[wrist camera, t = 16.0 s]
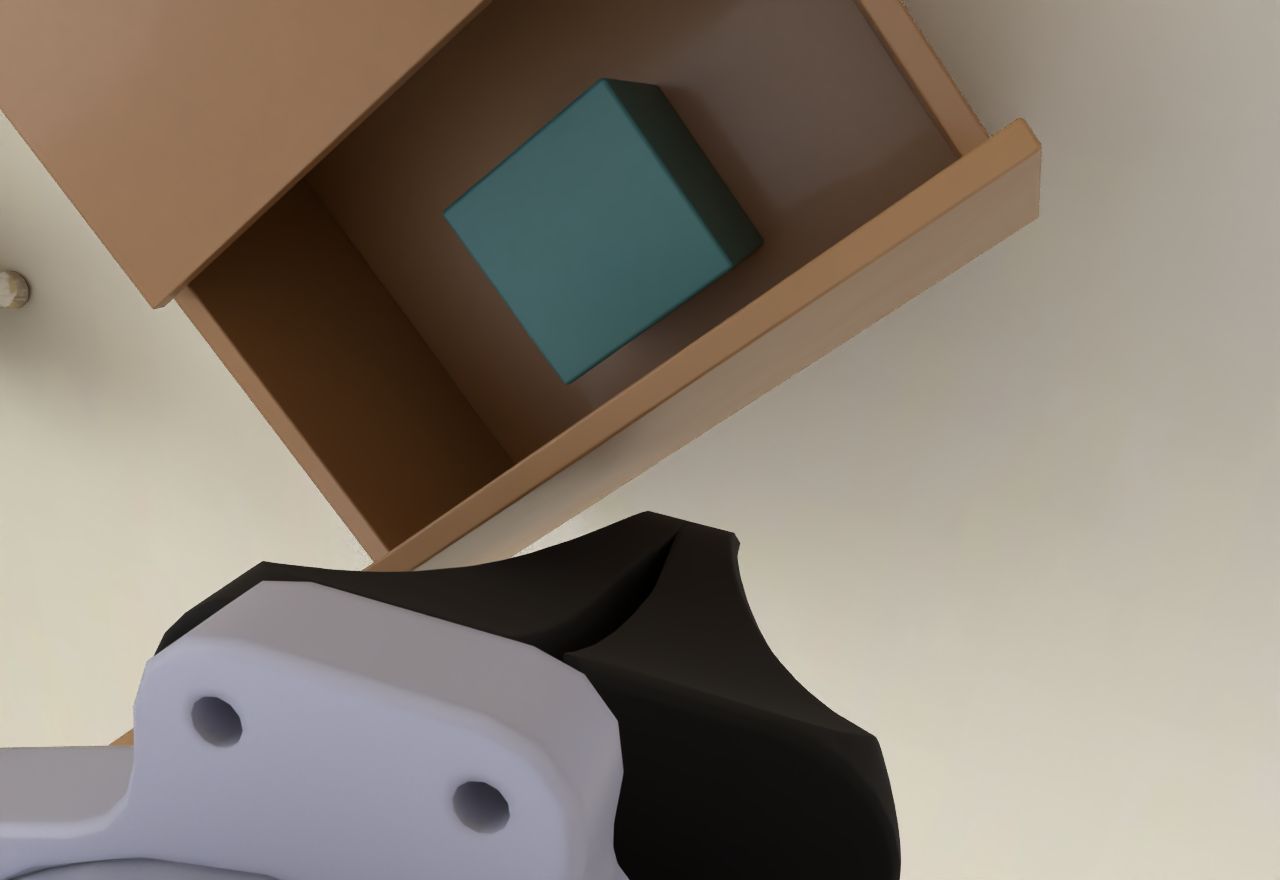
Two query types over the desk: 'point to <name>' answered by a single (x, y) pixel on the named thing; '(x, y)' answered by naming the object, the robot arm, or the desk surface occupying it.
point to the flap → (742, 356)
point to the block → (602, 224)
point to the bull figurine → (12, 290)
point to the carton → (440, 191)
